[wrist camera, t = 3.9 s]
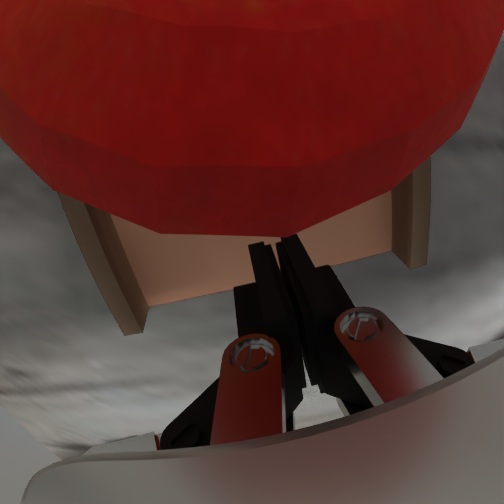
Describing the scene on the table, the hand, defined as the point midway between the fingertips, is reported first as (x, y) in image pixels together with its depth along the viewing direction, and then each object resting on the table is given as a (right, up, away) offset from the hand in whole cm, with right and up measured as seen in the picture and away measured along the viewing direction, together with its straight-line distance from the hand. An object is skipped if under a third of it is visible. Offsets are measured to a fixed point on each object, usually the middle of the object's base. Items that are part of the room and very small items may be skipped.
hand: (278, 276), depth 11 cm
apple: (-2, +9, 0) cm, 9 cm away
